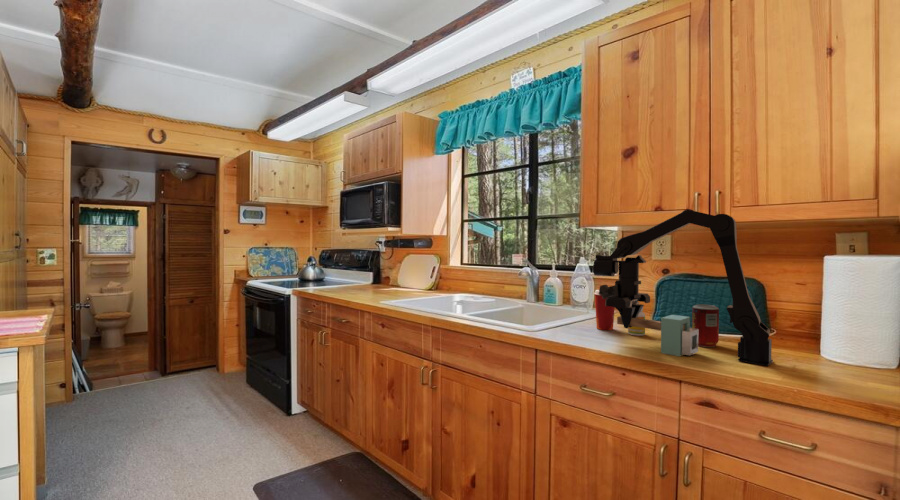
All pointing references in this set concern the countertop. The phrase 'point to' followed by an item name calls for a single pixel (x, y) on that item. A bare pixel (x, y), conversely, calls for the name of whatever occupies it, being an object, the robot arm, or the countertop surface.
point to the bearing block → (673, 334)
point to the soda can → (706, 324)
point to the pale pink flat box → (690, 341)
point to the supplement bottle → (637, 330)
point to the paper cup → (603, 313)
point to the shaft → (644, 323)
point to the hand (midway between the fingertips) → (628, 327)
